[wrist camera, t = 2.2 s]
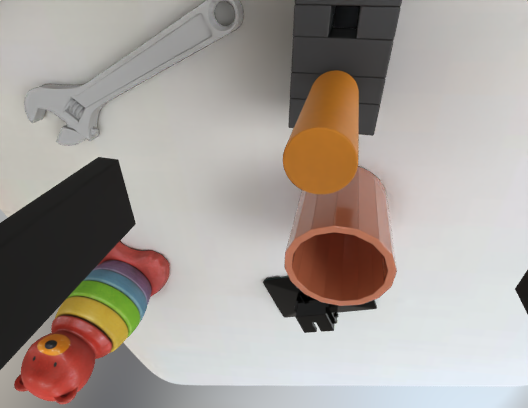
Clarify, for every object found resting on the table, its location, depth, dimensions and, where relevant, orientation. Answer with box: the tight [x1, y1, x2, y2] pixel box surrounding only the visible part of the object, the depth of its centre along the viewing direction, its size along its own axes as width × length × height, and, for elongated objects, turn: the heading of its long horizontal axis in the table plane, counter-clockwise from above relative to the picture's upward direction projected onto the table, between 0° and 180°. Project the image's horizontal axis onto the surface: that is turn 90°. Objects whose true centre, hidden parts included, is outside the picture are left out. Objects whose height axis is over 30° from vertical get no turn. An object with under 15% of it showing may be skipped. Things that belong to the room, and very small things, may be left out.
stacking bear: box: [14, 241, 169, 404], centre depth 39 cm, size 11×10×18 cm
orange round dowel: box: [283, 70, 359, 194], centre depth 19 cm, size 3×3×16 cm
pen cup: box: [285, 167, 397, 306], centre depth 29 cm, size 8×8×10 cm
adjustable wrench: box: [24, 0, 244, 146], centre depth 30 cm, size 25×6×2 cm, turn 112°
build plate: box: [263, 276, 377, 333], centre depth 39 cm, size 12×7×5 cm, turn 115°
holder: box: [289, 0, 402, 135], centre depth 22 cm, size 14×6×5 cm, turn 179°
